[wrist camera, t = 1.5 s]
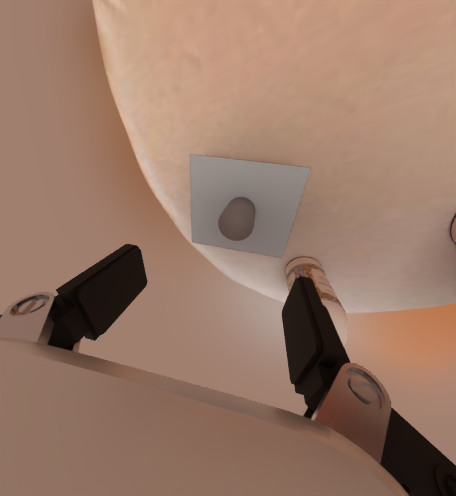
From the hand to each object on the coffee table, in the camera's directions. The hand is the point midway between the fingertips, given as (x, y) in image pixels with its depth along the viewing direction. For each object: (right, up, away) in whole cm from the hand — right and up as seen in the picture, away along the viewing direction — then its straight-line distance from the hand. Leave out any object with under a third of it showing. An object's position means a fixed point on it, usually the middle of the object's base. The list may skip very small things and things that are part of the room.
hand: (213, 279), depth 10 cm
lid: (+3, +7, +13) cm, 16 cm away
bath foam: (+17, -3, +25) cm, 30 cm away
